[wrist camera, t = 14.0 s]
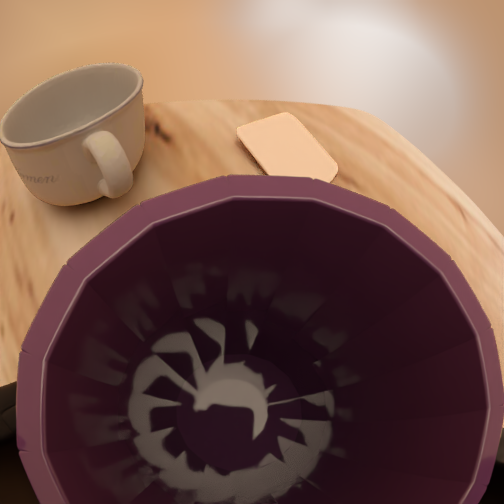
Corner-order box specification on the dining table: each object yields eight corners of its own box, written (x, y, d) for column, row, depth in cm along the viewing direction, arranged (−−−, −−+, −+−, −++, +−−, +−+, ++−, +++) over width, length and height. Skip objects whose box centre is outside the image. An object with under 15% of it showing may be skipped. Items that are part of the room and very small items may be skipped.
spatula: (286, 122, 27) (289, 110, 26) (503, 372, 16) (515, 368, 15) (231, 142, 25) (232, 128, 24) (467, 430, 14) (481, 428, 13)
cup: (323, 370, 15) (505, 259, 4) (282, 492, 11) (421, 620, 1) (198, 328, 15) (158, 131, 5) (148, 447, 12) (-25, 500, 1)
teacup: (34, 162, 22) (3, 97, 15) (134, 116, 26) (122, 45, 19) (55, 285, 17) (-10, 215, 10) (194, 216, 21) (187, 121, 14)
